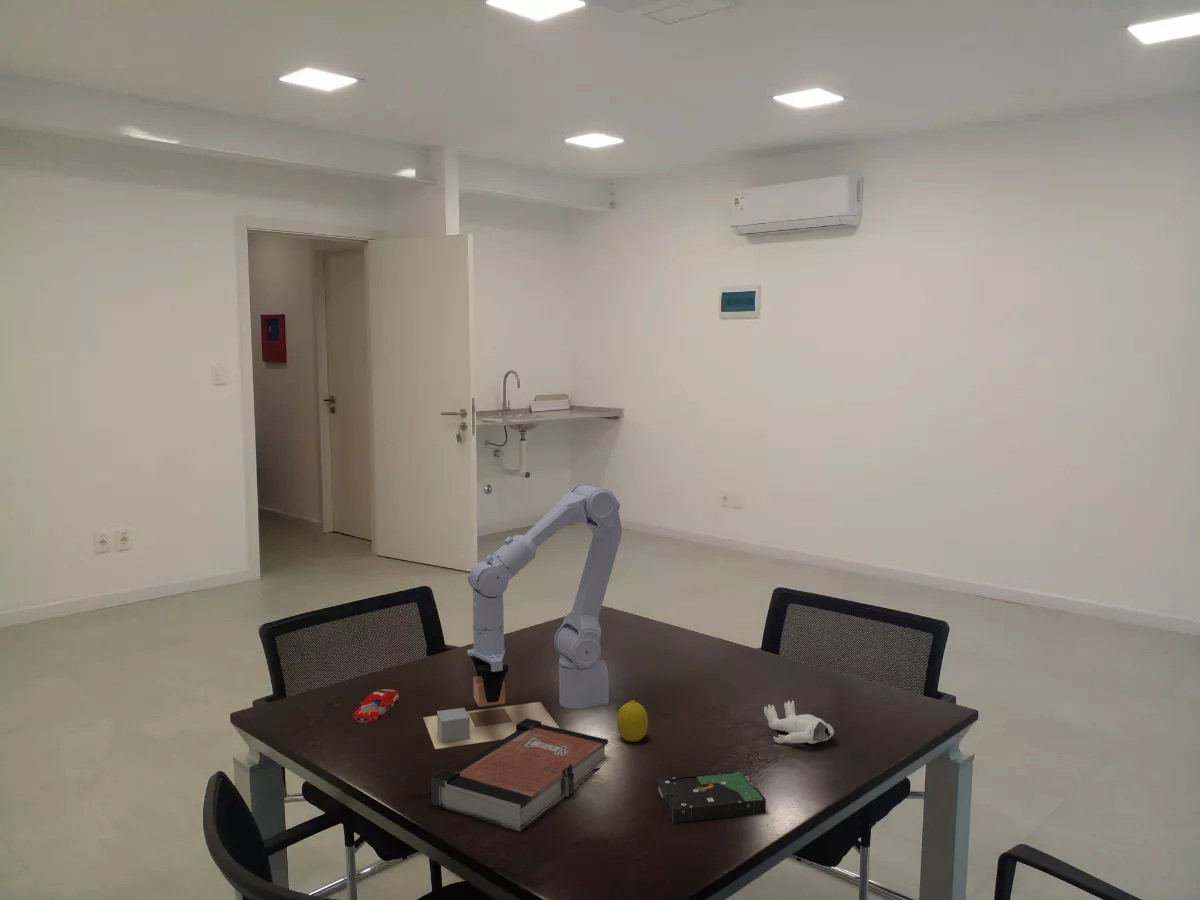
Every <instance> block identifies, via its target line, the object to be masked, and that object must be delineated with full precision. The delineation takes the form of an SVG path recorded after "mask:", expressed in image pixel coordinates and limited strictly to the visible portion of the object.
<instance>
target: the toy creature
mask: <svg viewBox="0 0 1200 900" xmlns="http://www.w3.org/2000/svg"><path fill="white" fill-rule="evenodd" d="M795 705H796V704H795V701H794V700H792V701H790V700H787V702H786V701H784V704H783V707H784V710H785V711H784V713H785V718H782V719H780V718H778V713H777V711H776V707H775V706H774V705H773V704H768V705H767V706H764V707H763V713H764V715H765V717H766V719H767V721H768V727H769V728H770V729H771V730H774V731H781V732H786V733H788V734H787V735H785V734H784V735H783V734H778V735H777V736H778V737H775V736H773V737H772V738H773V739H774V740H773V741H774V742H776V743H778V744H784V743H789V744H793V743H795V744H803V743H807V744H810V745H812V744H816V743H820V742H825V741H828V740H830V739H831V737H833V736H834V735H835V730H834V728H833V726H832V725H830V723H826V722H825V721H824V720H823V719H822V718H818V717H817V716H814V715H813V714H808V713H807V714H805V713H804V714H798V715H797V714H796V706H795Z"/></svg>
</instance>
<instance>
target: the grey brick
mask: <svg viewBox="0 0 1200 900" xmlns="http://www.w3.org/2000/svg"><path fill="white" fill-rule="evenodd" d="M436 712H437V713H436V716H437V728H438V735H439V737H440V739H441V742H442V743H447V742H454V741H461V740H468V739H470V718H469V716H468V714H467V710H466V708H465V707H460V708H452V709H444V710H437V711H436Z"/></svg>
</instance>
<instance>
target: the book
mask: <svg viewBox="0 0 1200 900" xmlns="http://www.w3.org/2000/svg"><path fill="white" fill-rule="evenodd" d="M608 744H609V739H607V738H603V737H599V736H594V735H590V734H585V733H580V732H577V731H572V730H568V729H563V728H560V727H559V728H555V727H551V726H547V725H542V724H541V722H540V721H536V720H532V719H527V718H526V719H525V720H523V721H522V722H520V723H518V724H517V725H516V732H514V733H513V734H511V735H510V736H508V737H506V738H505V739H503V740H499V741H498V742H497V743H495V744H493V745H492V746H490V747H489V748H487V749H485V750H484V751H482V752H480V753H478V754H477V755H476V756H474V757H471V759H469V760H468V761H465V762H464V763H463V764H461V765H459V766H458V767H457V768H455V769H453V770H451V769H449V768H442V769H441V770H440V771H438V772H436V773H435V774H433V775H431V777H430V785H431V786H430V789H431V791H430V792H431V805H432V806H435V807H438V808H441V809H444V810H448V811H451V812H455V813H459V814H460V815H461V814H462V815H465V816H468V817H471V818H475V819H478V820H480V821H485V822H488V823H491V824H494V825H498V826H501V827H504V828H508V829H511V830H514V831H518V832H523V831H524V830H525V829H526V828H527V827H529V826H530V825H531V824H532V823H534V822H535V821H536V820H537V819H539V818H540V817H541V816H543V815H544V814H545V813H547V812H548V811H549V810H550V809H552V808H553V807H554V806H555V805H556V804H558V803H559V802H561V800H563V799H564V798H565V797H566V798H568V797H570V796H571V795H573V793H574V792H575V789H576V787H577V786H578V785H579V784H580V785H582V784H583V783H584V782H585V781H587V780H588V779H589V778H591V777H592V776H593V775H594V774H596V773H597V772H598V771H600V770H601V769H602V767H598V768H597V767H596V768H593V767H594V766H596V765H597V764H598V763H600V762H601V761H602V760H604V759H605V757H606V755H605V754H606V753H605V750H606V749H605V748H606V745H608ZM600 768H601V769H600ZM595 772H596V773H595ZM592 774H593V775H592ZM591 775H592V776H591ZM590 776H591V777H590ZM588 777H589V778H588ZM587 778H588V779H587ZM586 779H587V780H586ZM583 781H584V782H583ZM582 782H583V783H582ZM581 783H582V784H581ZM580 785H579V786H580ZM579 786H578V787H579ZM578 787H577V788H578Z"/></svg>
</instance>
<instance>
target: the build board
mask: <svg viewBox="0 0 1200 900" xmlns="http://www.w3.org/2000/svg"><path fill="white" fill-rule="evenodd" d="M466 712H467V714H468V716H469V718H470V739H468V740H461V741H454V742H447V743H442V742H441V739H440V737H439V735H438V728H437V715H430V716H423V717H422V718H423V721H424V723H425V726H426V729H427V731H428V734H429V736H430V739H431V742H432V744H433V747H434V749H435V750H441V749H445V748H454V747H461V746H467V745H474V744H479V743H481V744H482V743H487V742H488V743H489V742H495V741H501V740H503V739H505V738H506V737H508V736H510V735H511V734H513V733H514V732H516V725H517V724H518V723H520V722H522V721H523V720H525V719H526V718H527V719H532V720H536V721H540V722H541V724H542V725H547V726H551V727H555V728H560V727H559V726H558V724H557V723H556V721H555V720H554V718H553V717H552V716H551V715H550V713H549V712H548V710H547V709H546V708H545V706H544V705H543V703H542V702H541V701H537V702H536V701H535V702H529V703H523V704H522V703H520V704H515V705H507V706H498V707H491V708H490V707H489V708H484V709H475V710H466Z"/></svg>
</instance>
